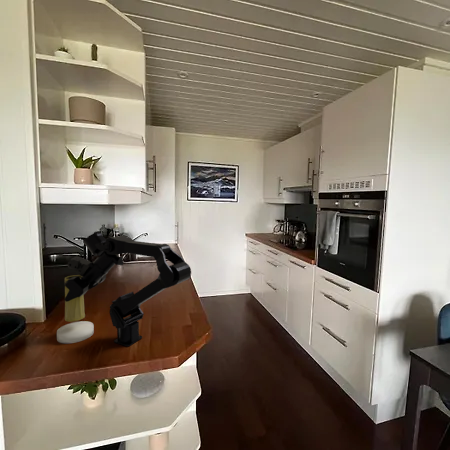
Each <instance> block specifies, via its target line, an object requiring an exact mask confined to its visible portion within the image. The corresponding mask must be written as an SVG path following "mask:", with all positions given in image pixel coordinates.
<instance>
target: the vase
mask: <svg viewBox="0 0 450 450" xmlns="http://www.w3.org/2000/svg"><path fill="white" fill-rule="evenodd" d="M72 277H79V278H82V276H80V275H79V274H76V275H68V276H66V277H64V283H65V282H66V281H67V280H68V279H70V278H72ZM68 292H69V289H68V288H67V287H65V286H64V298H65V297H66V296H67V294H68ZM84 295H85V294H84ZM84 295H82V296H81V297H77V298H75V299H72V300H70V301H68V302H66V301H65V300H64V320H65V322H70V323H73V322H79V321H80V320H83V319H85V318H86V314H85V299H84V298H85V297H84Z"/></svg>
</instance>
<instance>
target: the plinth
mask: <svg viewBox="0 0 450 450" xmlns="http://www.w3.org/2000/svg"><path fill="white" fill-rule="evenodd" d="M94 327H95V326H94V323H93V322H91V321H85V320H84V321H83V320H82V321H80V320H79V321H73V322H70V323H67V324H65V325H62V326H60V328H58V329H57V330H56V340H57V342H58V343H59V344H74V343H79V342H82V341H85V340H87V339H89V338H91V336H93V335H94V332H95V330H94V329H95V328H94Z"/></svg>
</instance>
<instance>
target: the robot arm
mask: <svg viewBox="0 0 450 450" xmlns="http://www.w3.org/2000/svg"><path fill="white" fill-rule="evenodd" d="M83 243H84V245H85V247H86V248H88V250H89V251H90V254H92V255H93V256H96V259H95V260H93V261H90V260H88V259H86V258H83V257H81V256H74V257H71V259H70V260H69V261H68V262H67V265H68V266H67V268H68V269H70V270H71V269H72V270H74V271H76V272H78V275H80V276H82V278H79V277H72V278H70V279H68V280H67V281H66V282H65V281H64V282H63V283H64V284H63V285H64V288H65V287H67V288H68V289H69V292H68V294H67V296H66V297H65V296H64V302H65V301H66V302H68V301H70V300H72V299H75V298H77V297H81V296H82V295H86V294H87V292H88V291H89V290H91V289H94V288H95V287H97V286H98V285H99V284H101V283H103V282H104V281H105V280H106V278H107V274H108V273H109V272H110V270H111V269H112V268H113V267H115V265H116V266H124V257H122V256H119V255H123V254H126V255H127V254H130V255H137V256H144V257H150V258H154V260H155V261H156V262H155V263H156V267H157V271H158V272H159V274H158V276H157V278H156V279H154V280H153V281H151V282H150V283H149V284H147V285H146V286H144V287H142V288H141V289H139V290H138V291H137V292H135V293H134V291H131V292H130V291H129V292H128V293H125V294H123V295H121V296H120V295H119V296H118V297H117V298H116V299H114V300H112V301H111V304H110V305H109V308H110V309H109V316H110V319H111V325H112V326H113V327H115V329H116V337H117V338H116V339H114V341H113V343H114V344H118V345H122V346H124V347H125V346H126V347H130V346H132V345H133V344H135V343H137V342H138V341H140V340H142V339H143V336H142V335H140V332H139V331H140V328H139V327H140V323H139V321H140V320H142V319H143V317H144V312H143V310H142V309H141V305H142V304H143V303H145V302H147V301H149V300H150V299H151V298H153V297H156V295H158V294H159V293H161V292H163V291H164V290H166V289H169V288H171V287H174V286H176V285H178V284H181V283H184V282H185V281H187V280H189V279H190V278H191V276H192V269H191V266H190V265H189V264H188V263H187V262H186V261H185V259H184V258H183V257H182V256H181V255H179V254H178V253H177V252H176V251H174V250H173V248H172V247H171V246H170V245H169V244H167V243H155V242H147V241H146V242H145V241H139V240H134V239H133V238H132V237H129V236H126V235H119V236H111V237H107V238H105V237H104V235H103V233H102V232H101V231H99V230H98V231H93V233H92V234H90V235H88V236H87V237H86V238H85V239H84V240H83ZM167 260H168V261H169V262H170V263H172V264H171V265H169V264H168V263H167Z"/></svg>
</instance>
